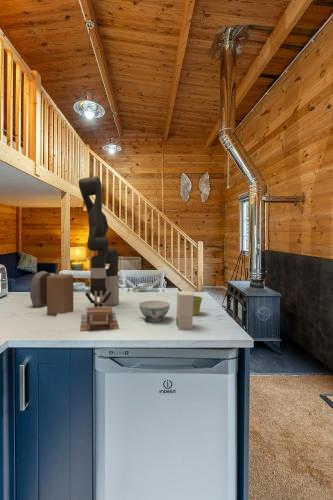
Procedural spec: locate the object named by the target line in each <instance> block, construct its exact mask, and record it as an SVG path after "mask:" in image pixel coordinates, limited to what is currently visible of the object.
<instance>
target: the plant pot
mask: <svg viewBox="0 0 333 500" xmlns="http://www.w3.org/2000/svg"><path fill="white" fill-rule="evenodd" d="M202 300H203V297H202V296H198V295H194V298H193V316H199V315H200V313H201V312H200V310H201V305H202V302H203V301H202ZM198 314H199V315H198Z"/></svg>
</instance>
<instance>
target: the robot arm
mask: <svg viewBox="0 0 333 500" xmlns="http://www.w3.org/2000/svg"><path fill="white" fill-rule="evenodd" d="M102 186H103V185H102V182H101V179H100V177H98V176H90V177H84V178H80V179H79V180H78V188H79V191H80V192H79V193H80V194H81V197H82V199H83V200H82V201H83V203H84V205H85V208H86V212H87V216H88V218H87V219H88V237H87V242H86V245H87V248H88V250H89V251H91V252H97V255H93V256H91V257H90V275H89V276H90V288H89V291H85V293H84V295H85V297H86V298H87V300H88V301H89V303H90V304H93V305H94V306H93V307H97V302H98V298H99V302H100V303H99V305H100V307H108V306H111V307H113V306H114V307H115V306H116V305H119V302H120V297H119V296H120V294H119V293H120V290H119V287H118V271H119V261H120V260H119V258H120V257H119V255H120V254H119V250H118V249H117V248H114V247H112V248H111V247H110V241H109V239H108V238H107V233H108V231H109V224H108V219H107V216H106V214H105V213H104V212H103V187H102ZM90 196H95V199H94V201H92V199H91V197H90ZM108 264H109V266H108V268H106V265H108ZM91 295H92V296H93V297H92V296H91Z"/></svg>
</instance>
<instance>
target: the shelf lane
mask: <svg viewBox="0 0 333 500" xmlns="http://www.w3.org/2000/svg"><path fill="white" fill-rule="evenodd" d="M112 307H113V306H102V307H94V306H91V307H87V308H86V314H81V320H80V329H79V332H95V331H108V330H109V331H110V330H111V331H112V330H120V325H119V323H118V319H117V316H116V313H114V312H113V308H112ZM96 314H106V320H103V321H92V315H96Z"/></svg>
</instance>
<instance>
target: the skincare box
mask: <svg viewBox="0 0 333 500" xmlns="http://www.w3.org/2000/svg"><path fill="white" fill-rule="evenodd" d="M176 294H177V295H176V321H175V322H176V323H175V324H176V327H177V329H178V330H179V329H184V330H193V324H194V323H193V318H194V315H193V298H194V296H195V295H194V293H193V292H192V291H191V290H177V293H176Z"/></svg>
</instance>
